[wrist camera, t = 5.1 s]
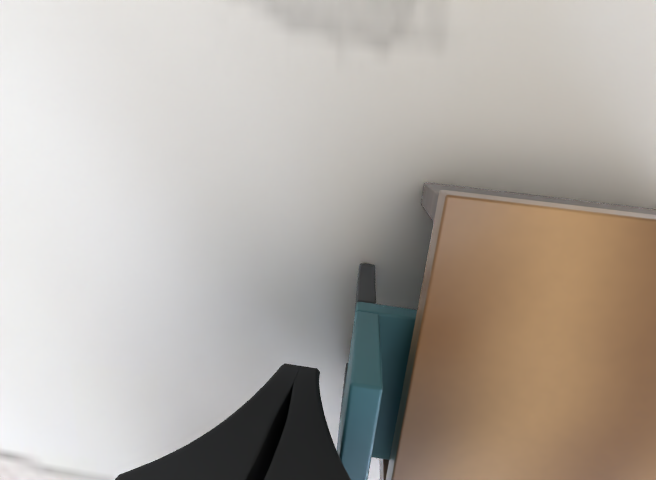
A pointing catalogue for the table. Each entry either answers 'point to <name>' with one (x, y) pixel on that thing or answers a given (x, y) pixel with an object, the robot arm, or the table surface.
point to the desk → (531, 342)
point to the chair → (373, 378)
